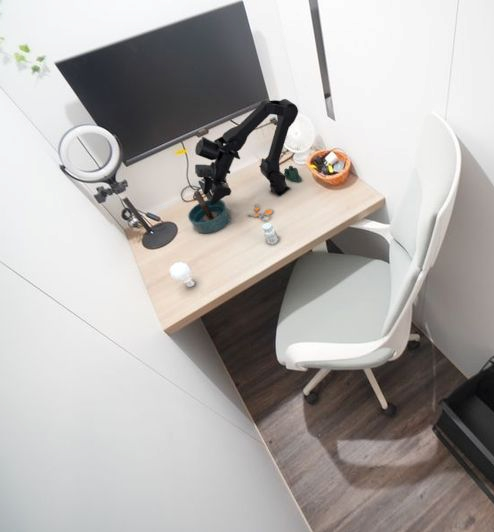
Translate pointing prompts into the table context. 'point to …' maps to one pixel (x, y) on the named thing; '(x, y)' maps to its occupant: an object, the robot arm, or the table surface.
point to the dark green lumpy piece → (292, 174)
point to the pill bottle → (270, 233)
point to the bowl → (212, 225)
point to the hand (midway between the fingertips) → (208, 199)
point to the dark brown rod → (205, 207)
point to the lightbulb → (182, 273)
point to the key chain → (261, 213)
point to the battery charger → (201, 183)
